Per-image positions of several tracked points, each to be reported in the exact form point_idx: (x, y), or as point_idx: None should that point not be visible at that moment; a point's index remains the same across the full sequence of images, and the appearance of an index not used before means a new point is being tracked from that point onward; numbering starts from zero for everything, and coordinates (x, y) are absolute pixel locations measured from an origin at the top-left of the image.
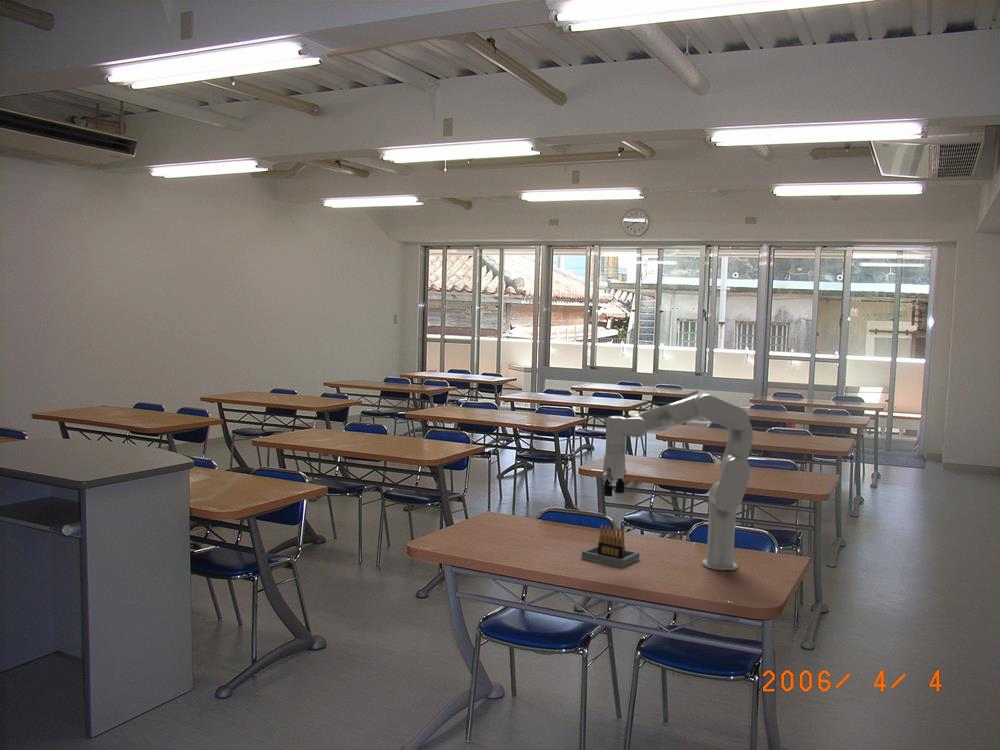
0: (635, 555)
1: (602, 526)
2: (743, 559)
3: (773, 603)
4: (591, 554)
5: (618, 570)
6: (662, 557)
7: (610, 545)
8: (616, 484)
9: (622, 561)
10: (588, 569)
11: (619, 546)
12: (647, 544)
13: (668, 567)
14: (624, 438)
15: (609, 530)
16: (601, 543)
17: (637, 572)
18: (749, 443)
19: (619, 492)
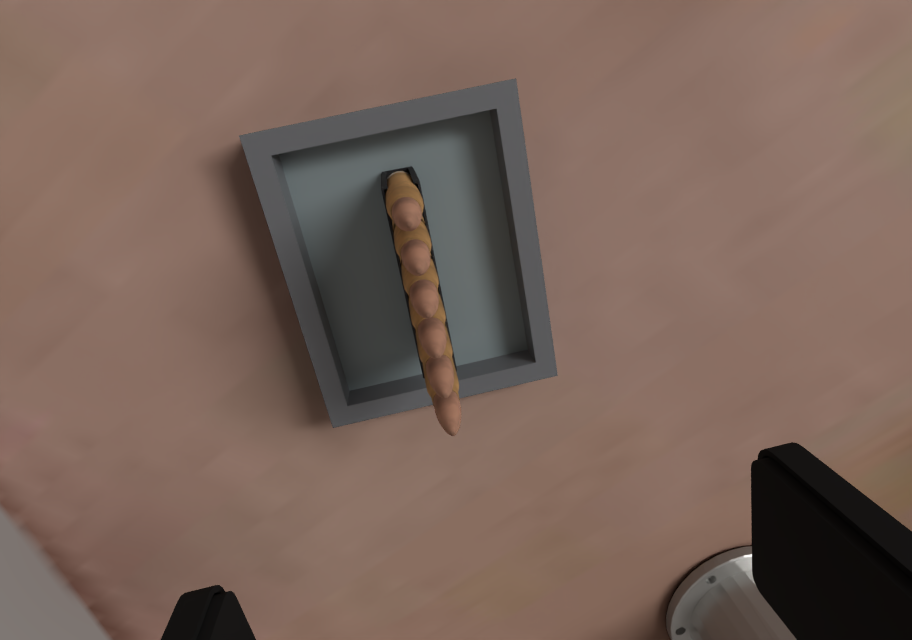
0: (502, 385)
1: (406, 229)
2: None
3: None
4: (266, 217)
5: (272, 430)
6: (682, 396)
7: (403, 289)
8: (898, 598)
9: (332, 423)
10: (117, 330)
11: (419, 358)
12: (889, 169)
13: (541, 516)
14: None
15: (412, 305)
16: (387, 214)
17: (337, 497)
18: None
19: (757, 517)
